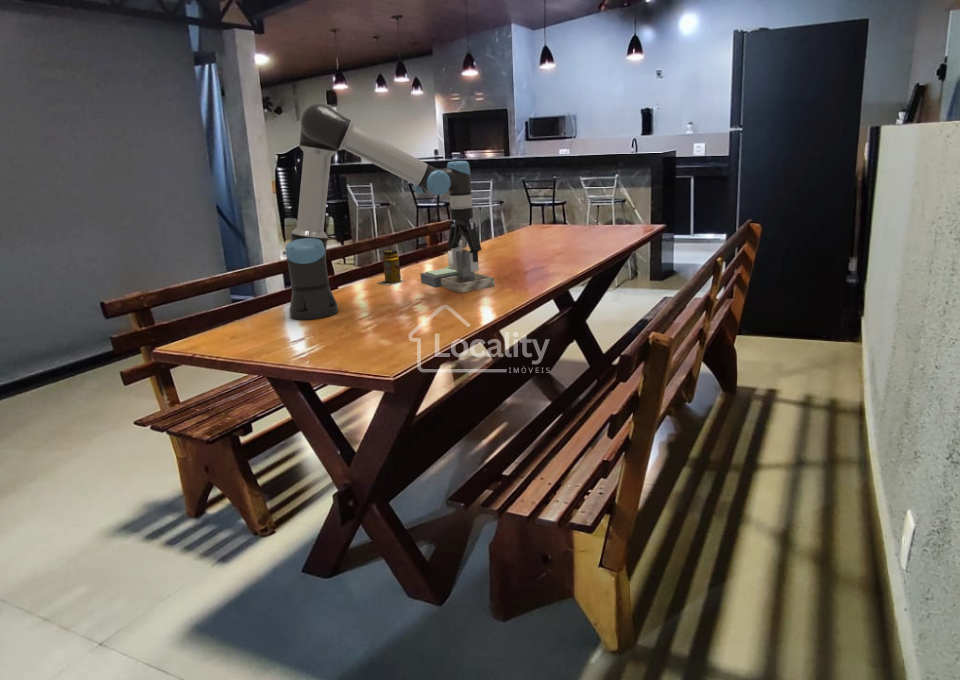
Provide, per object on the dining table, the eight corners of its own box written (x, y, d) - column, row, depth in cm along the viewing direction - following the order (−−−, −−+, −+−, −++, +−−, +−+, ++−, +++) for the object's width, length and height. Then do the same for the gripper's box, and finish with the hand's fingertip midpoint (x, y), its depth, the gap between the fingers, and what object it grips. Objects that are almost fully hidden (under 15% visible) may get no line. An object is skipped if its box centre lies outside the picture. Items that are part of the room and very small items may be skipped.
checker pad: (436, 279, 242) (436, 275, 242) (425, 275, 250) (425, 271, 249) (458, 275, 246) (458, 271, 246) (447, 272, 254) (447, 268, 254)
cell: (464, 286, 235) (461, 250, 232) (458, 285, 239) (455, 249, 235) (475, 284, 237) (472, 248, 234) (469, 283, 241) (466, 247, 237)
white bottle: (455, 276, 257) (452, 243, 253) (446, 274, 263) (443, 241, 260) (473, 273, 260) (471, 240, 257) (464, 271, 267) (461, 238, 263)
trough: (459, 292, 229) (458, 284, 228) (441, 286, 241) (440, 278, 240) (494, 286, 236) (494, 277, 235) (475, 280, 248) (474, 272, 247)
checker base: (435, 287, 241) (434, 275, 240) (421, 282, 251) (419, 271, 250) (465, 281, 246) (464, 270, 245) (449, 277, 257) (448, 266, 256)
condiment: (405, 281, 256) (402, 250, 253) (388, 285, 251) (384, 253, 247) (394, 279, 261) (391, 248, 258) (376, 283, 256) (372, 252, 252)
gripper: (489, 208, 222) (492, 271, 228) (454, 204, 243) (458, 262, 249) (469, 210, 218) (473, 274, 224) (435, 206, 239) (440, 265, 245)
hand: (465, 268), depth 237 cm, fingers open, 13 cm apart
